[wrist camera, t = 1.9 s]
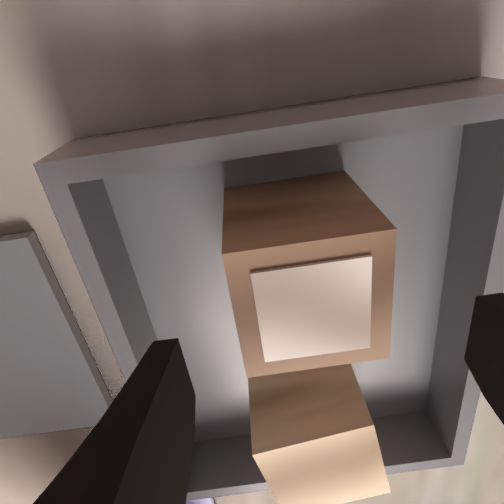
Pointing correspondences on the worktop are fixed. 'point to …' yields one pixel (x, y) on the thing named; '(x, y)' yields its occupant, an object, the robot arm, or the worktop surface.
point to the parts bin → (213, 273)
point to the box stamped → (308, 273)
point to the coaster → (42, 349)
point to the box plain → (315, 437)
